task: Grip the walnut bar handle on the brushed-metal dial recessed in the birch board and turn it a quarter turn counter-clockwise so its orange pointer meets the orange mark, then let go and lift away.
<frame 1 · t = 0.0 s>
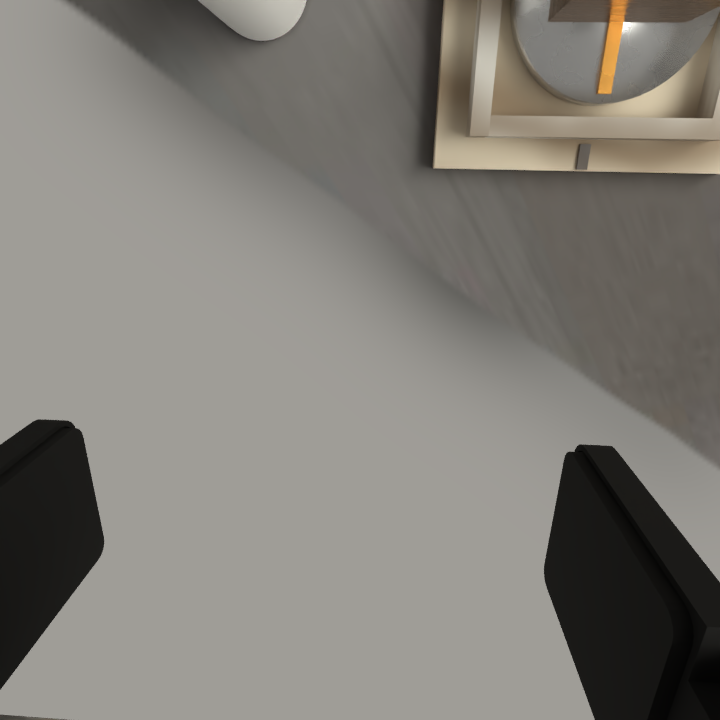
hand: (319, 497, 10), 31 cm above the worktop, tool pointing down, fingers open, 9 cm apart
dial board: (599, 4, 32), on the worktop
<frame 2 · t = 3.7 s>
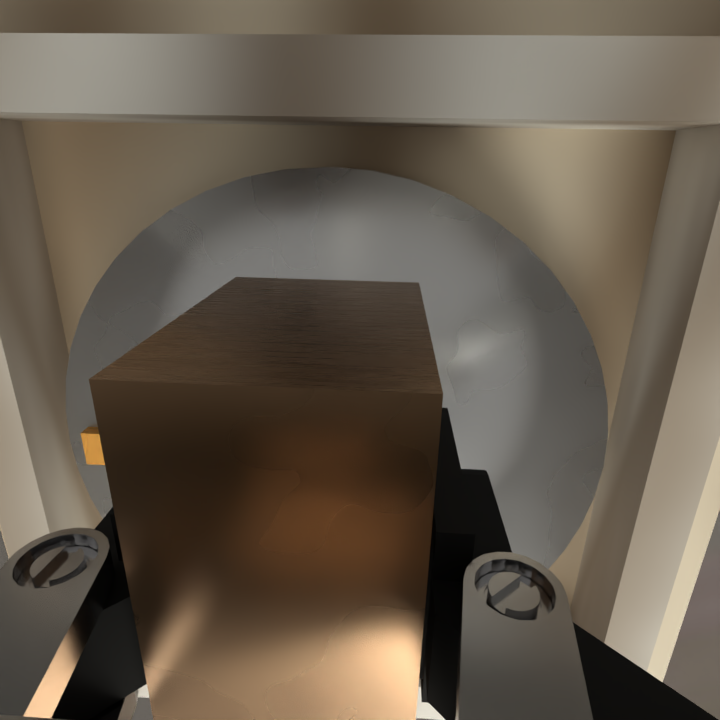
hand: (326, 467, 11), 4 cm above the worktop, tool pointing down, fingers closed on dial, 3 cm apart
dial: (317, 507, 10), point 5 cm above the worktop, hinge at 0.0°, touching gripper
dial board: (342, 393, 14), on the worktop
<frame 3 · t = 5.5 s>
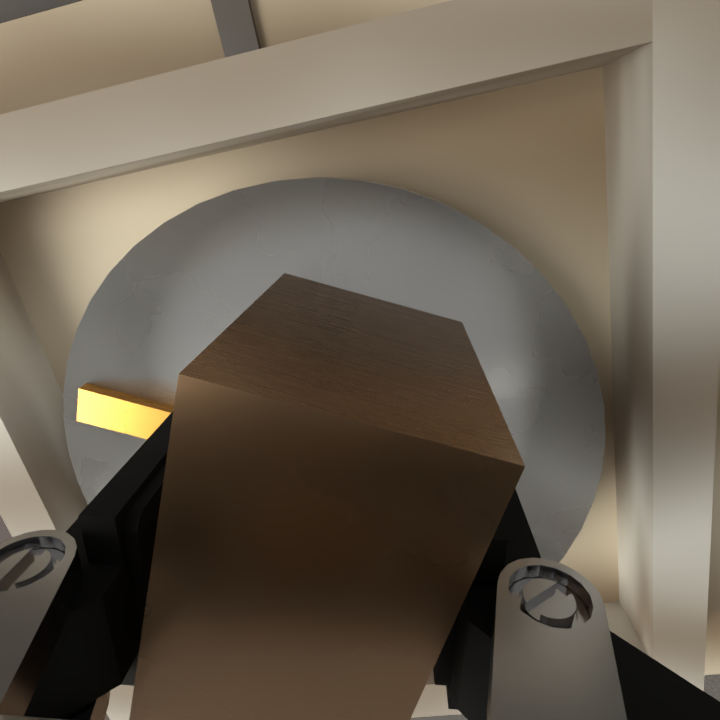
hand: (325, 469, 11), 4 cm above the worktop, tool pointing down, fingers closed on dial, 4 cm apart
dial: (314, 517, 10), point 5 cm above the worktop, hinge at 63.9°, touching gripper
dial board: (340, 400, 14), on the worktop
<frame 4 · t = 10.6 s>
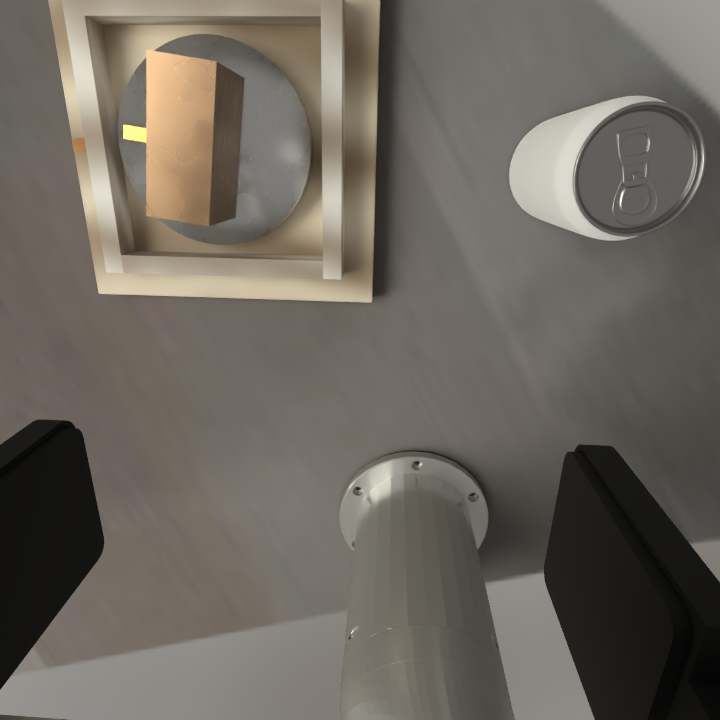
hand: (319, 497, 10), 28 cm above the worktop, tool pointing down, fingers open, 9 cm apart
can: (556, 170, 34), on the worktop
dial: (202, 145, 29), point 5 cm above the worktop, hinge at 82.1°
dial board: (229, 148, 34), on the worktop
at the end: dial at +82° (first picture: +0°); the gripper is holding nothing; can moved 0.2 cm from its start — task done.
